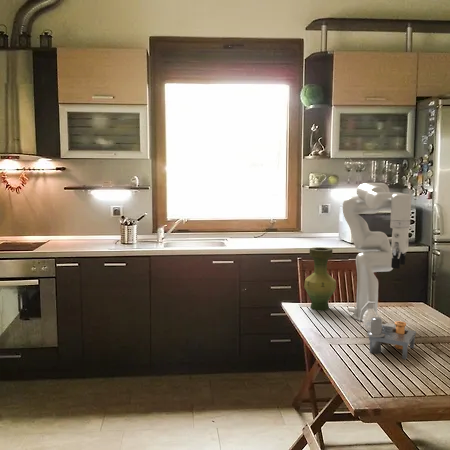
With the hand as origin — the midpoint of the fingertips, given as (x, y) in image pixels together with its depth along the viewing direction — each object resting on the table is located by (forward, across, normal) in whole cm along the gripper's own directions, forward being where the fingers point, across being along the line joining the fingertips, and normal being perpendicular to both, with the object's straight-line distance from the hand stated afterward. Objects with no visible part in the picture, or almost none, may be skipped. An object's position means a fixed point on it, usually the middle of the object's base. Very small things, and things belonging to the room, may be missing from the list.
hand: (398, 266), depth 202 cm
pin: (+30, -10, -4) cm, 32 cm away
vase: (+31, +27, +43) cm, 59 cm away
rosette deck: (+30, -15, 0) cm, 34 cm away
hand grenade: (+31, +3, +12) cm, 33 cm away
